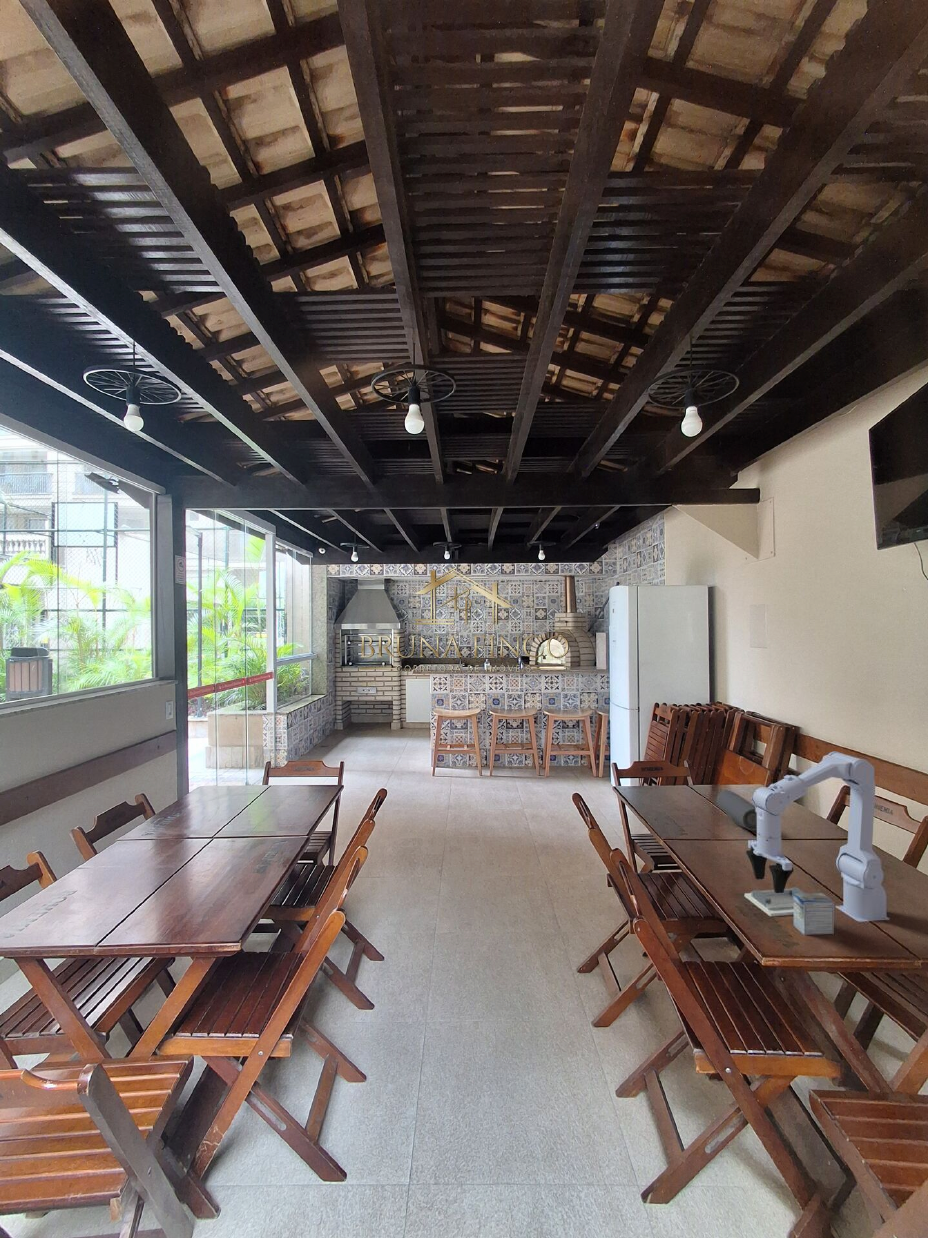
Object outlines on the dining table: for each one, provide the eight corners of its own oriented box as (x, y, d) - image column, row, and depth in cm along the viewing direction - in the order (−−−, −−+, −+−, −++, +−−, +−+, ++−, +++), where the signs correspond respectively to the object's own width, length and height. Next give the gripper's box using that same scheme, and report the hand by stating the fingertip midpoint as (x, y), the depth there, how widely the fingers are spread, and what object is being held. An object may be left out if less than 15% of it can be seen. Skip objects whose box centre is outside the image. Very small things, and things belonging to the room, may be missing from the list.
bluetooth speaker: (766, 834, 206) (766, 807, 206) (741, 834, 207) (741, 807, 207) (737, 812, 229) (737, 788, 229) (715, 812, 229) (715, 788, 229)
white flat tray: (791, 892, 162) (791, 882, 162) (820, 912, 151) (820, 901, 151) (744, 896, 160) (744, 885, 160) (770, 916, 149) (770, 905, 149)
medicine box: (822, 925, 145) (822, 892, 145) (834, 935, 141) (834, 901, 141) (793, 926, 145) (793, 893, 145) (804, 935, 140) (804, 901, 140)
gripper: (738, 825, 154) (738, 873, 154) (773, 846, 139) (774, 900, 139) (761, 823, 155) (761, 872, 155) (799, 844, 140) (799, 898, 140)
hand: (769, 885), depth 147 cm, fingers open, 7 cm apart
